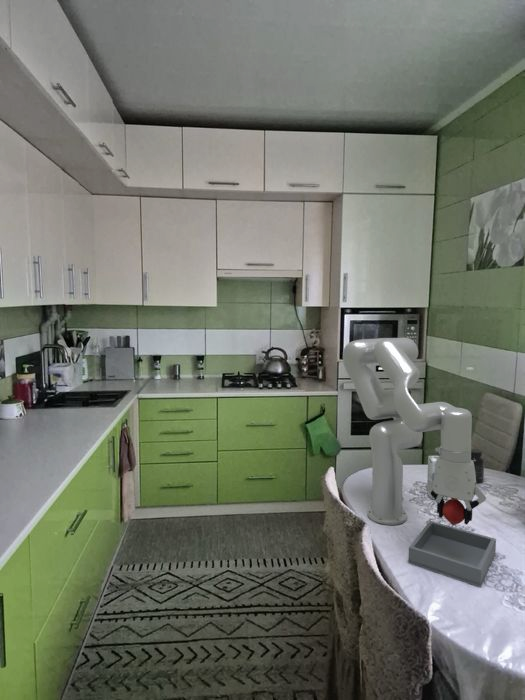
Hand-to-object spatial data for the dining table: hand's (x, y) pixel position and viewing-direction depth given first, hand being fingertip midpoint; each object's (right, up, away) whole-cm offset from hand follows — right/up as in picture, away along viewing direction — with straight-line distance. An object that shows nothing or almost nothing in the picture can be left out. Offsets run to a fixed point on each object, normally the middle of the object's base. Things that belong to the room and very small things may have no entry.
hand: (454, 518), depth 124 cm
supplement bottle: (+30, -5, +54) cm, 62 cm away
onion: (0, -2, 0) cm, 2 cm away
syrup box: (+11, -7, +40) cm, 42 cm away
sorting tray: (0, -12, +2) cm, 12 cm away
